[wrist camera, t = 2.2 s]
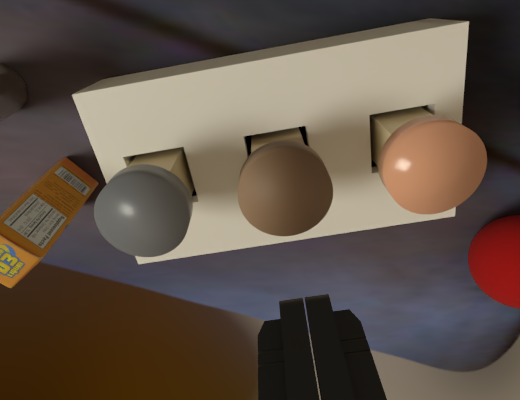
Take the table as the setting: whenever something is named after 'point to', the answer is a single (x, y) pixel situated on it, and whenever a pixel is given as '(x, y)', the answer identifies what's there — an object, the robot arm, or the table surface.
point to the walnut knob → (283, 184)
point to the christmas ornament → (498, 260)
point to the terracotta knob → (426, 159)
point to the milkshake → (11, 92)
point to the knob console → (280, 121)
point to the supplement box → (40, 218)
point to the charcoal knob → (147, 204)
